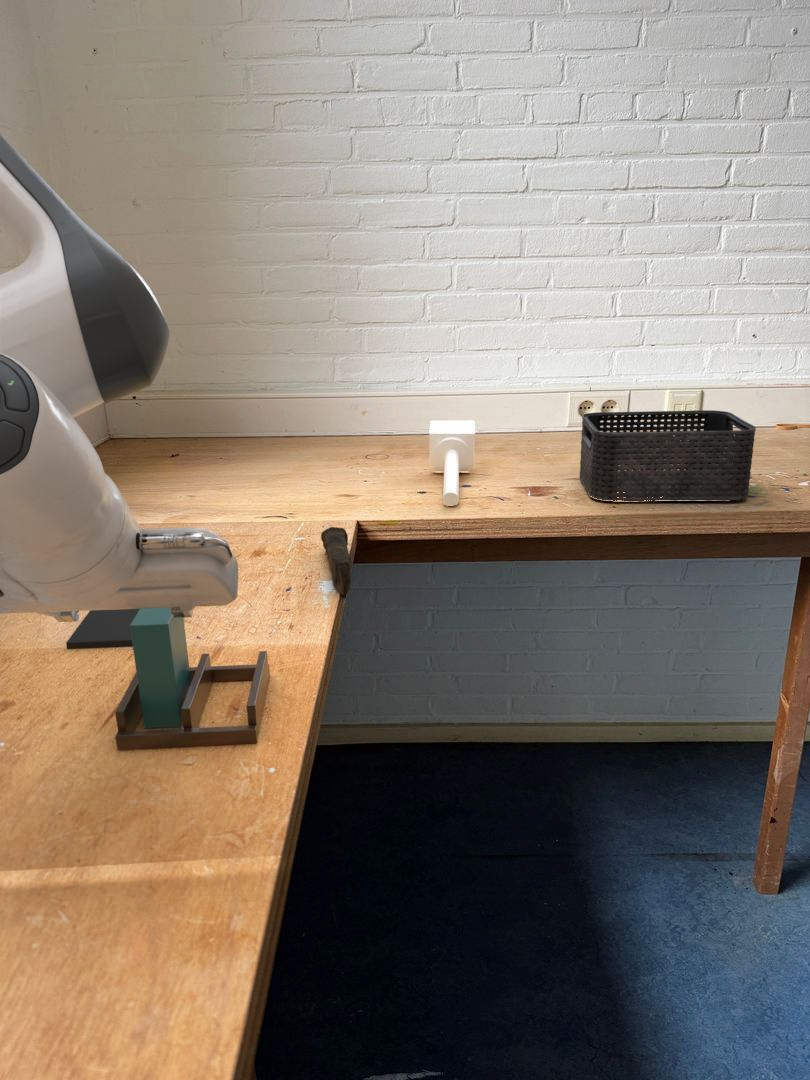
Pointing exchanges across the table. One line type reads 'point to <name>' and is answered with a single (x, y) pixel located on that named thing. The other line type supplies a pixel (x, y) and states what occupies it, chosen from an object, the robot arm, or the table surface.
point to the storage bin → (666, 456)
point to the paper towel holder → (451, 453)
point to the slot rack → (197, 709)
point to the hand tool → (338, 557)
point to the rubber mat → (104, 629)
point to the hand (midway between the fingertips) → (127, 611)
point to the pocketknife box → (160, 666)
